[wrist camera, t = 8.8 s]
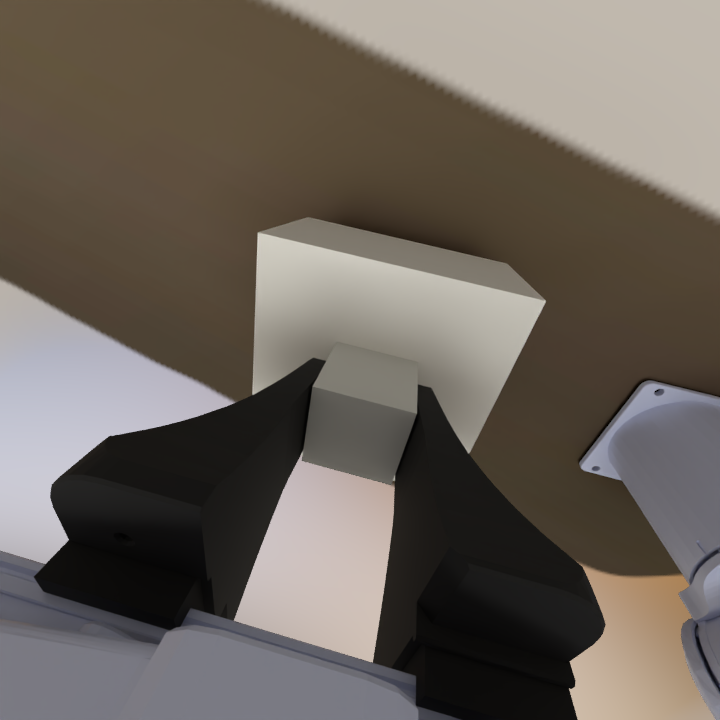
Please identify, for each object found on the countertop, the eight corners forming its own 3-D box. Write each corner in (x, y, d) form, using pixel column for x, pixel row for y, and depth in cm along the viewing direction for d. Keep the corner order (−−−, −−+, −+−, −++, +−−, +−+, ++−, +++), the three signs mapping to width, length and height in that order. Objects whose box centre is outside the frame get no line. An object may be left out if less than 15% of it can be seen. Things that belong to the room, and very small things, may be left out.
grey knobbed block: (506, 263, 15) (590, 343, 7) (442, 420, 19) (453, 563, 12) (308, 217, 15) (203, 248, 8) (291, 380, 20) (214, 496, 12)
